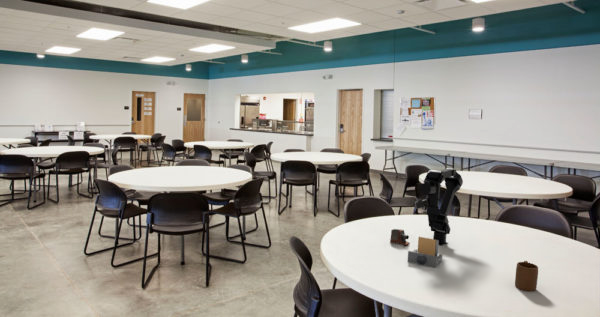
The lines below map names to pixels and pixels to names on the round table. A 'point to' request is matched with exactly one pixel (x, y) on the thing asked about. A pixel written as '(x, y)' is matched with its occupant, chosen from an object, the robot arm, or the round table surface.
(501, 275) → the round table surface
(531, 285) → the mug
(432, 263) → the grey cabinet body
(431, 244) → the side door
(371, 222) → the round table surface
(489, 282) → the round table surface
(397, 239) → the electronic device
